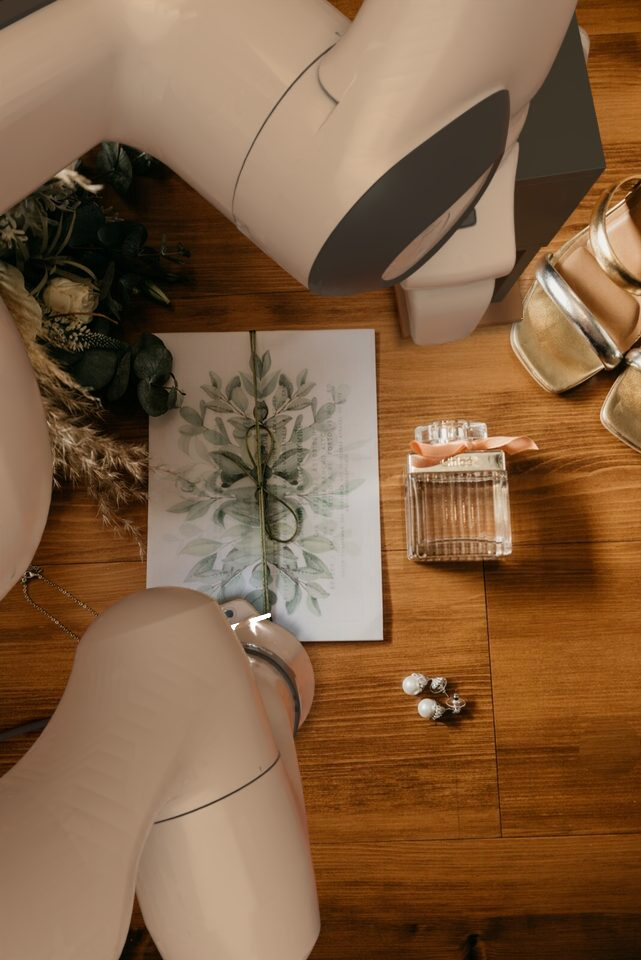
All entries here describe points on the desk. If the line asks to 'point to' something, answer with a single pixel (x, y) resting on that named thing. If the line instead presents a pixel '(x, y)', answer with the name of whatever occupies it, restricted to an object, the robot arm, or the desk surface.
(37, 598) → the desk surface
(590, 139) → the cabinet
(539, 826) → the desk surface
